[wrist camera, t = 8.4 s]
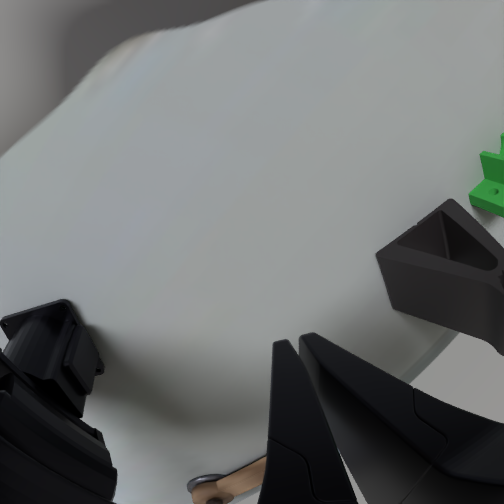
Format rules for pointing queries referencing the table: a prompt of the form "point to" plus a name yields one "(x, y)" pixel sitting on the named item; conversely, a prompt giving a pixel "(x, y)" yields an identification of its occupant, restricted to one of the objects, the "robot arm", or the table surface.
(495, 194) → the pipe clamp
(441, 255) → the phone stand
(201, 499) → the swing link
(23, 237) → the table surface
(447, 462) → the robot arm
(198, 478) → the pin stand
